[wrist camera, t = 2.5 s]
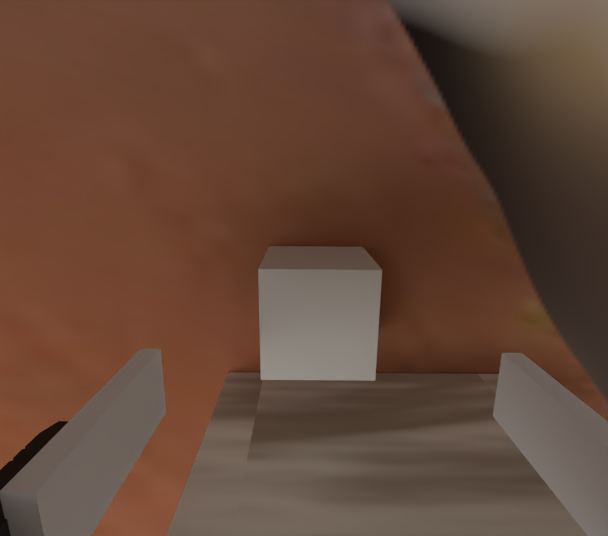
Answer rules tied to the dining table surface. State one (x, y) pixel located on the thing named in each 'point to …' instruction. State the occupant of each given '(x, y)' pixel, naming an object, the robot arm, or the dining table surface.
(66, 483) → the robot arm
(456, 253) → the dining table surface
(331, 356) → the light grey cube
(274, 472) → the crate
